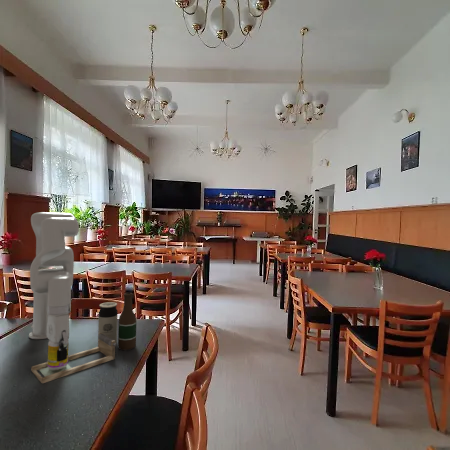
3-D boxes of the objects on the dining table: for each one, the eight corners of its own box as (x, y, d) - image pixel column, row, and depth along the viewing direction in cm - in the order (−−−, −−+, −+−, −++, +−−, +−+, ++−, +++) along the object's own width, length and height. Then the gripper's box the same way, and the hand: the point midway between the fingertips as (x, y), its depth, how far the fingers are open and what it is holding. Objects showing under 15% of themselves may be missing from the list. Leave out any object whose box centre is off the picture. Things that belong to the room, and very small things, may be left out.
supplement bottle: (58, 371, 107) (59, 336, 107) (43, 369, 108) (43, 334, 108) (72, 363, 113) (72, 329, 113) (57, 361, 115) (57, 328, 115)
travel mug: (101, 340, 139) (101, 302, 139) (118, 340, 140) (119, 301, 139) (95, 347, 131) (96, 306, 131) (114, 347, 132) (115, 306, 131)
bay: (43, 385, 100) (44, 363, 100) (31, 370, 110) (31, 350, 110) (117, 359, 120) (118, 341, 120) (102, 349, 129) (102, 332, 129)
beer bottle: (120, 343, 136) (121, 291, 136) (137, 343, 137) (138, 291, 136) (115, 350, 128) (116, 295, 128) (133, 350, 129) (135, 295, 129)
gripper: (40, 306, 114) (39, 352, 114) (56, 316, 102) (55, 368, 102) (61, 302, 119) (60, 346, 119) (79, 312, 107) (78, 361, 108)
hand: (58, 356), depth 111 cm, fingers closed on supplement bottle, 6 cm apart
